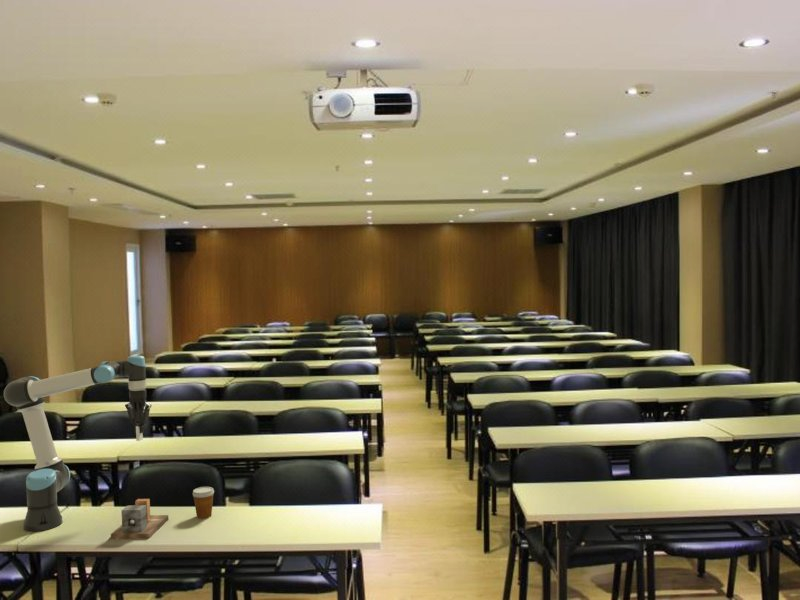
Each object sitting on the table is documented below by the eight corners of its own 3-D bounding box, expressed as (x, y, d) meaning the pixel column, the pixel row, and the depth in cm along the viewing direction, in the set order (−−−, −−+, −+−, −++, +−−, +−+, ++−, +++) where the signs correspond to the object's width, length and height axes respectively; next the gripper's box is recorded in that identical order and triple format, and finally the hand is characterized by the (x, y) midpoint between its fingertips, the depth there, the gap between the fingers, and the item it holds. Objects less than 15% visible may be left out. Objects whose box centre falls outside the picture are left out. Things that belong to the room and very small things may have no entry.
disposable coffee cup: (192, 521, 307) (191, 494, 307) (193, 514, 316) (192, 487, 316) (215, 518, 310) (214, 491, 309) (215, 511, 319) (214, 485, 318)
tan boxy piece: (126, 530, 291) (125, 509, 290) (139, 519, 304) (138, 499, 303) (138, 530, 290) (137, 509, 290) (150, 519, 303) (149, 498, 303)
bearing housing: (110, 538, 288) (109, 512, 288) (132, 520, 310) (131, 495, 310) (149, 538, 288) (148, 511, 288) (168, 519, 310) (167, 494, 309)
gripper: (154, 388, 324) (156, 438, 325) (130, 387, 328) (133, 437, 329) (144, 391, 317) (146, 442, 318) (120, 390, 321) (122, 441, 322)
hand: (139, 439), depth 324 cm, fingers closed
